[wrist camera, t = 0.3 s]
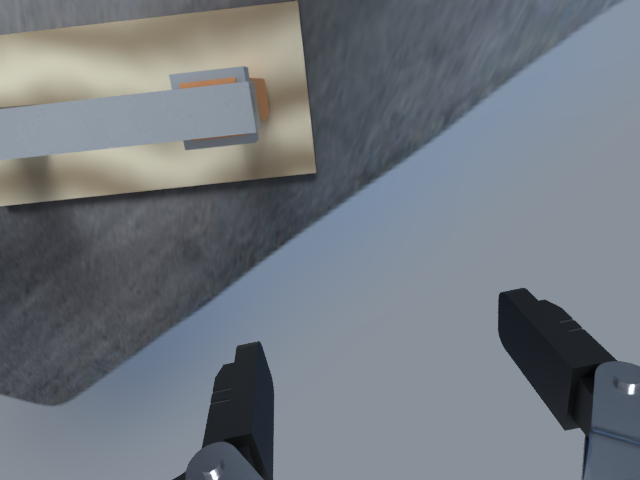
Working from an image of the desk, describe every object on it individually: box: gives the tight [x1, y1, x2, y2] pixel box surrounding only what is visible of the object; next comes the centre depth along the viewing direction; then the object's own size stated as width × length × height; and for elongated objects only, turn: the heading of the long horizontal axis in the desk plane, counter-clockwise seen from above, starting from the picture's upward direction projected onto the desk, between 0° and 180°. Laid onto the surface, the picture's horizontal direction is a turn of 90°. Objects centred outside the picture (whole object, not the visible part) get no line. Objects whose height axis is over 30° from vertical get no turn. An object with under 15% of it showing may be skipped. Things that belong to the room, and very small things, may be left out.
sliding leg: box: [169, 66, 270, 150], centre depth 29 cm, size 4×4×14 cm
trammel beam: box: [0, 81, 261, 160], centre depth 28 cm, size 3×27×17 cm, turn 96°
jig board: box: [0, 1, 316, 206], centre depth 36 cm, size 14×30×1 cm, turn 96°
